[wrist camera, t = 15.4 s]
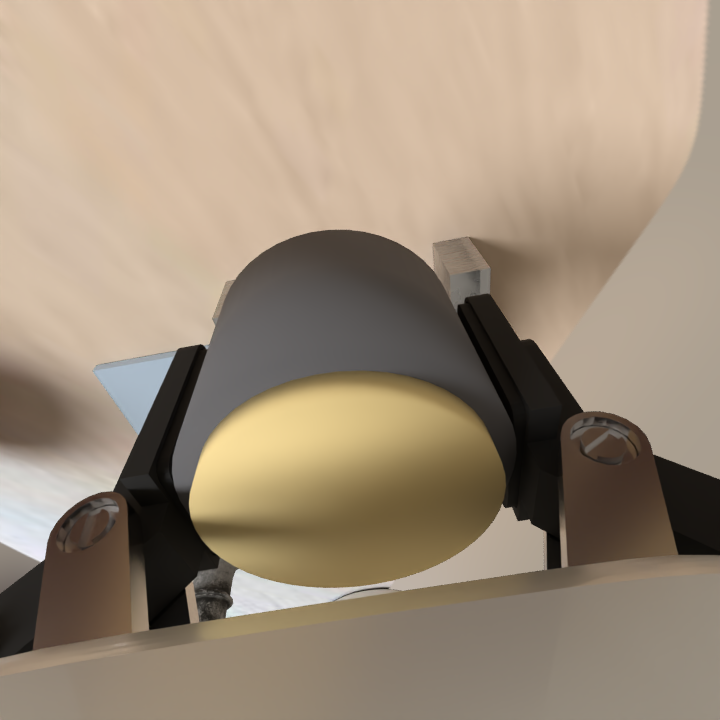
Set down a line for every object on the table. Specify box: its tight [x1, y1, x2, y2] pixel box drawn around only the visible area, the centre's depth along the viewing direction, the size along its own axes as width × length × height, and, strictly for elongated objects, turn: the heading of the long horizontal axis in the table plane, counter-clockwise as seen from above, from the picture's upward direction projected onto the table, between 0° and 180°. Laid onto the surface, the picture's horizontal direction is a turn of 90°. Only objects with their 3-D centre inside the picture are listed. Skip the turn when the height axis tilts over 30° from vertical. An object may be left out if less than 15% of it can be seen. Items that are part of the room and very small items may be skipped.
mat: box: [93, 345, 209, 435], centre depth 30 cm, size 10×10×1 cm
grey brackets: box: [212, 237, 491, 326], centre depth 26 cm, size 12×14×4 cm
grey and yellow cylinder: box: [172, 230, 517, 588], centre depth 9 cm, size 6×6×5 cm
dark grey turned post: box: [193, 557, 239, 622], centre depth 34 cm, size 6×6×12 cm
